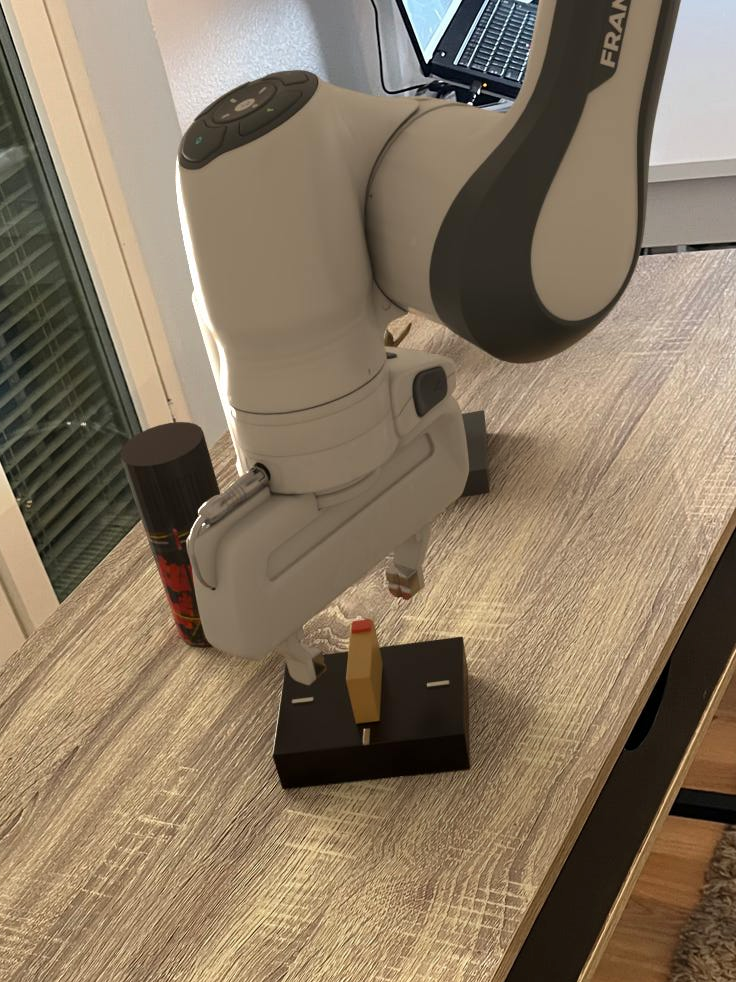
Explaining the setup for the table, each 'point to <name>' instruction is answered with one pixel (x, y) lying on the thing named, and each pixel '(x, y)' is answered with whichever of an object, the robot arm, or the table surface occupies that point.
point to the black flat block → (381, 744)
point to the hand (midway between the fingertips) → (359, 633)
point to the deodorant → (172, 509)
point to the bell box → (476, 454)
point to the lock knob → (364, 671)
